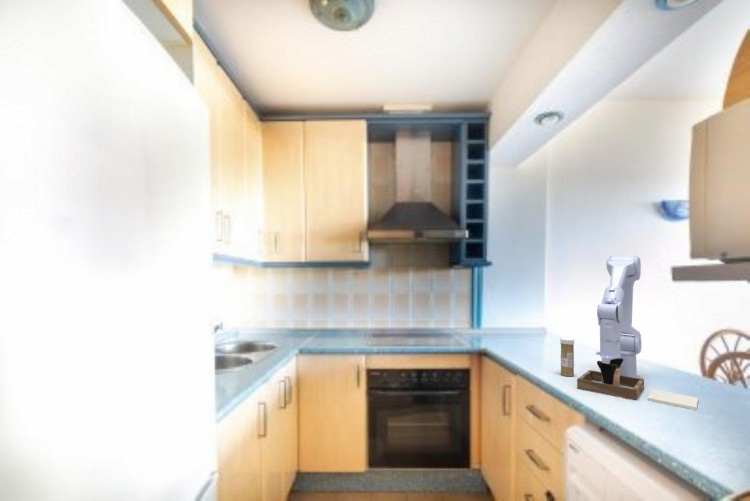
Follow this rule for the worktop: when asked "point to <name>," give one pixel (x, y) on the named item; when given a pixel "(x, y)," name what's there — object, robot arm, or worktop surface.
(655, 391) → the ceramic tile
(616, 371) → the terracotta pot
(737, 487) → the worktop surface
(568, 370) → the sprinkles bottle
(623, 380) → the box
